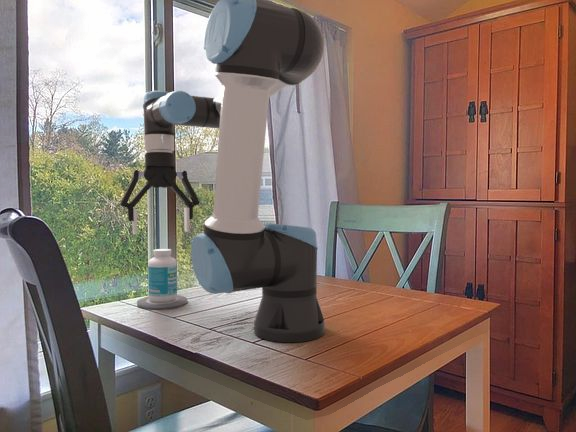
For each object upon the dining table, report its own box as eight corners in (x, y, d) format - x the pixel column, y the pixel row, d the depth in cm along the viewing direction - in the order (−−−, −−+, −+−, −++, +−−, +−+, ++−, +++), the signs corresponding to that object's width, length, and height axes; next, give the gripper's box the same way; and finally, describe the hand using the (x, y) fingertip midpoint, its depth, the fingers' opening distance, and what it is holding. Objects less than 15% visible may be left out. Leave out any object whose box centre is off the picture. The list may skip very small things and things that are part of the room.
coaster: (192, 305, 125) (192, 302, 125) (141, 311, 120) (141, 308, 120) (180, 295, 137) (180, 292, 137) (133, 300, 131) (133, 297, 131)
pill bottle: (173, 303, 125) (172, 251, 124) (144, 303, 125) (143, 251, 124) (180, 296, 132) (179, 247, 131) (153, 296, 132) (152, 247, 131)
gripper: (201, 154, 135) (203, 229, 136) (107, 152, 124) (110, 234, 125) (209, 152, 128) (211, 231, 129) (111, 149, 117) (113, 236, 118)
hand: (161, 232), depth 127 cm, fingers open, 13 cm apart
